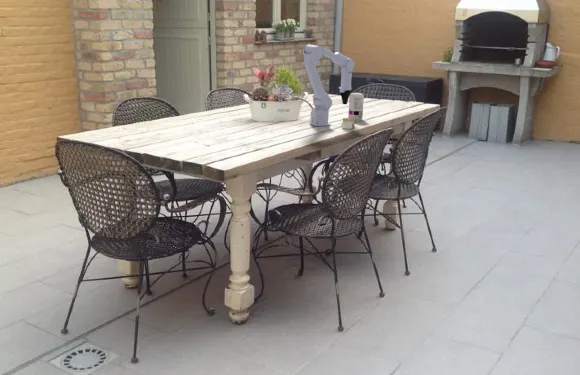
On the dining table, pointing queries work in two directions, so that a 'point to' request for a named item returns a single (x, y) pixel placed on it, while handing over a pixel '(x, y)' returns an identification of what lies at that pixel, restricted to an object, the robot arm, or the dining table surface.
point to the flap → (347, 123)
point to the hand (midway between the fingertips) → (344, 104)
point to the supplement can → (356, 106)
